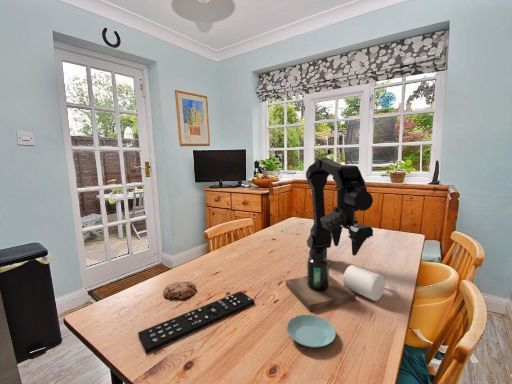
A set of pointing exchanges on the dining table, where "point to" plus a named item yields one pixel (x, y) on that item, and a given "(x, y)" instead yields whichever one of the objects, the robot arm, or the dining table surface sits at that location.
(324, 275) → the supplement bottle
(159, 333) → the remote control
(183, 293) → the cookie
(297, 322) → the saucer
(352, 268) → the mug
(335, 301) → the walnut board
